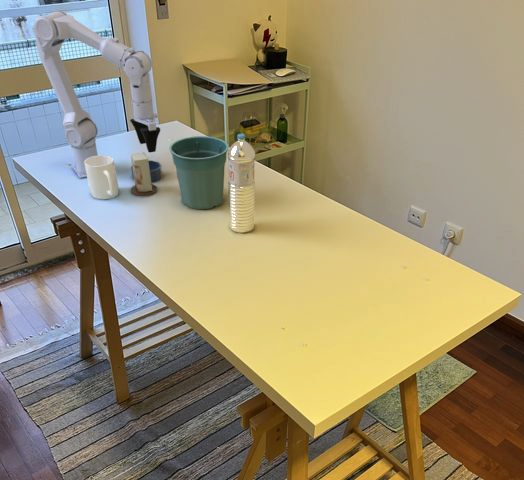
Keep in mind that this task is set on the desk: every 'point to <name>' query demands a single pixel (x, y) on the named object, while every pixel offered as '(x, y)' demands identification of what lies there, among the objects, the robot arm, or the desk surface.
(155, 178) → the blue ring
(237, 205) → the water bottle
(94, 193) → the cup
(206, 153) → the flower pot
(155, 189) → the walnut coaster
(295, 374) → the desk surface
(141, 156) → the drug facts carton
